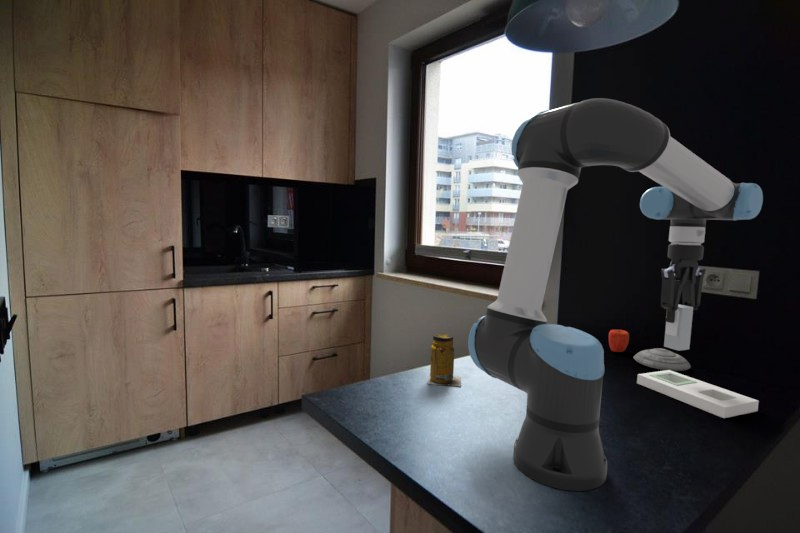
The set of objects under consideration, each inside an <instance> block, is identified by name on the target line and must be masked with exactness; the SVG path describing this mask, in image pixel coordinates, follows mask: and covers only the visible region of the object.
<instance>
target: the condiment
mask: <svg viewBox="0 0 800 533" xmlns="http://www.w3.org/2000/svg"><path fill="white" fill-rule="evenodd" d="M430 353H431V354H430V368H429V369H430V373H429V374H428V381H427V384H428V385H435V386H452V387H462V376H459V375H458V376H455V375H454V370H455V369H454V367H455V365H454V364H455V346H454V336H453V335H450V334H448V333H437V334H434V335H433V337H432V345H431V348H430Z"/></svg>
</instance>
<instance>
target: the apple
mask: <svg viewBox="0 0 800 533" xmlns="http://www.w3.org/2000/svg"><path fill="white" fill-rule="evenodd" d="M629 341H630V333H629V332H628V331H626V330H623V329H610V331H609V332H608V345H609V348H610V350H611V352H613V353H623V352H625V351H626V348H627V346H628V345H629Z"/></svg>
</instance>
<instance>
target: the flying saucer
mask: <svg viewBox="0 0 800 533" xmlns="http://www.w3.org/2000/svg"><path fill="white" fill-rule="evenodd" d="M633 359H634V360H635V361H636V363H638V364H641V365H643V366H645V367H649V368H652V369H655V370H660V371H665V370H671V371H674V372H682V371H688V370H689V369H691V368H692V366H691V364H690V363H689V361H688V360H687V358H685V357H683V356H682V355H680V354H678V353H676V352H674V351H671V350H668V349H666V348H660V347H659V348H658V347H657V348H650V349H644V350H640V351H639V352H637V353H636V354H635V355H634V356H633Z"/></svg>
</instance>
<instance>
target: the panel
mask: <svg viewBox="0 0 800 533" xmlns="http://www.w3.org/2000/svg"><path fill="white" fill-rule="evenodd" d="M636 384H638V385H641V386H643V387H646V388H648V389H650V390H652V391H655V392H658V393H660V394H663V395H666V396H667V397H670V398H673V399H675V400H678V401H680V402H683V403H685V404H686V405H687V404H688V405H689V406H692V407H694V408H698V409H700V410H702V411H704V412H707V413H709V414H712V415H714V416H717V417H719V418H723V419H726V418H732V417H737V416H740V415H746V414H751V413H756V412H758V411H759V403H760V401H759V400H758V399H755V398H752V397H749V396H746V395H743V394H740V393H737V392H735V391H731V390H729V389H726V388H723V387H720V386H717V385H714V384H711V383H708V382H705V381H704V380H703V381H702V380H700V379H697V378H694V377H690V376H689V375H686V374H685V375H684V374H682V373H679V372H678V371H671V370H660V371H659V370H658V371H652V372H651V371H650V372H646V373H645V372H643V373H638V374H637V378H636Z"/></svg>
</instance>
